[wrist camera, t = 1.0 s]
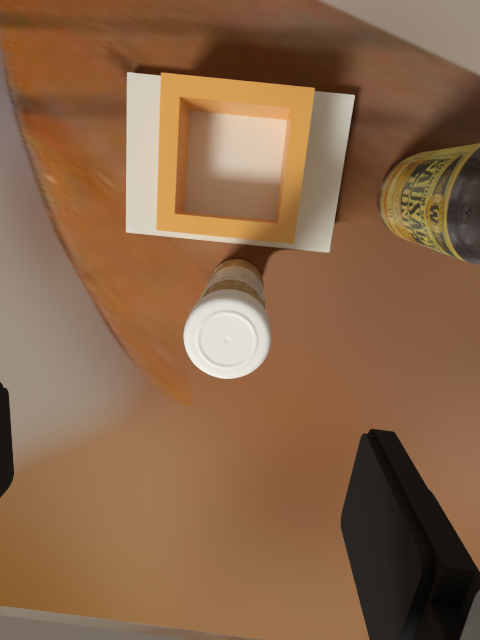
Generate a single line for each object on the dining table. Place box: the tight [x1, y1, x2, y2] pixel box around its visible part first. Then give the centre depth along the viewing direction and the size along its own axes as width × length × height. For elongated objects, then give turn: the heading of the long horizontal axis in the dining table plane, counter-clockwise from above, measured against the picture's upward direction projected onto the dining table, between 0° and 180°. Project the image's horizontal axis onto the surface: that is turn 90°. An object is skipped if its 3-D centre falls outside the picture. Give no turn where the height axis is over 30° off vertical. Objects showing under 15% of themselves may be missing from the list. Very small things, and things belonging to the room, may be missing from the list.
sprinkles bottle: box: [184, 259, 271, 379], centre depth 26 cm, size 5×5×13 cm
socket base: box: [126, 72, 355, 252], centre depth 27 cm, size 16×11×5 cm
